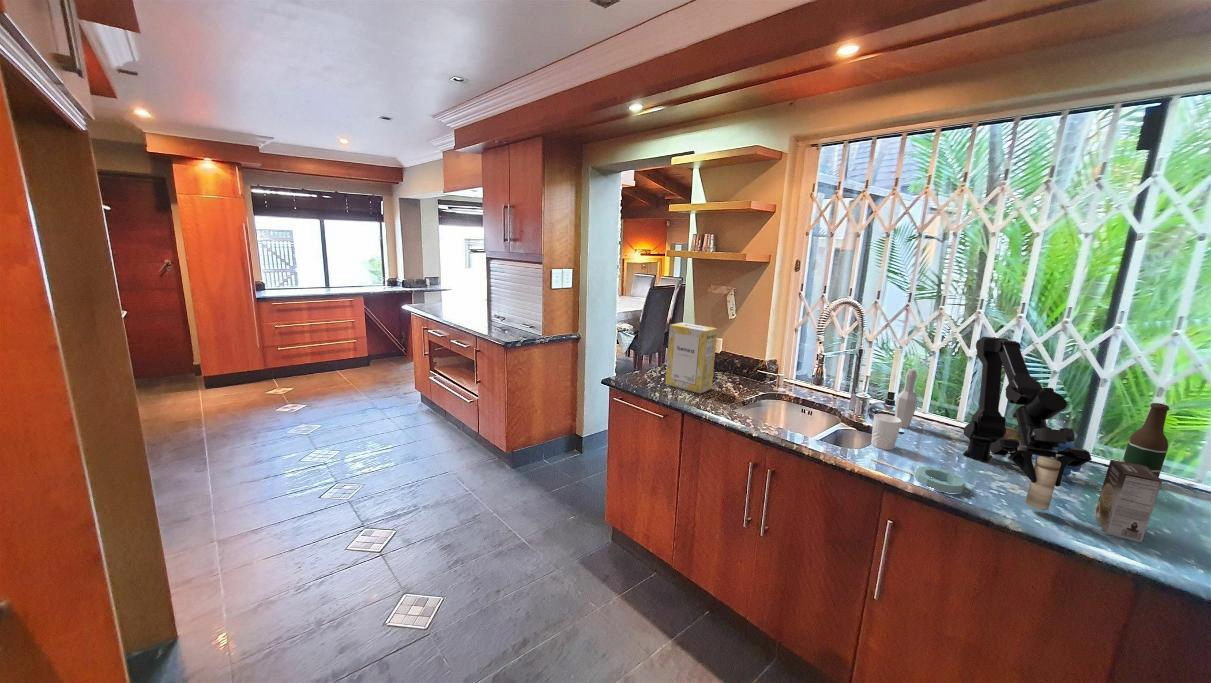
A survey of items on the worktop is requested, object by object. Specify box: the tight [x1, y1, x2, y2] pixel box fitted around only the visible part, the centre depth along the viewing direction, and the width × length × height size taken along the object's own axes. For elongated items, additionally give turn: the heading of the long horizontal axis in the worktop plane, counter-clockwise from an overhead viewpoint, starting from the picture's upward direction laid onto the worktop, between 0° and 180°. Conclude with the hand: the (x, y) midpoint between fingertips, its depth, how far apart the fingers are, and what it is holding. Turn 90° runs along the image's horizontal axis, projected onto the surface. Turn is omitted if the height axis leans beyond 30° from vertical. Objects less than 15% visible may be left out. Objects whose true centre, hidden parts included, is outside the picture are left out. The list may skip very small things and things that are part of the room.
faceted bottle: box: [894, 368, 918, 429], centre depth 172 cm, size 6×6×22 cm
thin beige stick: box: [871, 457, 916, 476], centre depth 139 cm, size 1×12×1 cm, turn 39°
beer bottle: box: [1122, 402, 1170, 478], centre depth 136 cm, size 8×8×24 cm
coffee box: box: [1093, 459, 1163, 543], centre depth 110 cm, size 9×6×16 cm
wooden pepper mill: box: [1024, 456, 1061, 511], centre depth 116 cm, size 4×4×12 cm
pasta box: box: [665, 322, 718, 395], centre depth 208 cm, size 18×10×28 cm, turn 50°
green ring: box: [914, 466, 966, 494], centre depth 130 cm, size 11×11×2 cm
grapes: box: [1033, 442, 1082, 477], centre depth 139 cm, size 12×7×12 cm, turn 44°
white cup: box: [870, 413, 901, 451], centre depth 154 cm, size 8×8×10 cm
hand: (1046, 484), depth 115 cm, fingers closed on wooden pepper mill, 4 cm apart
